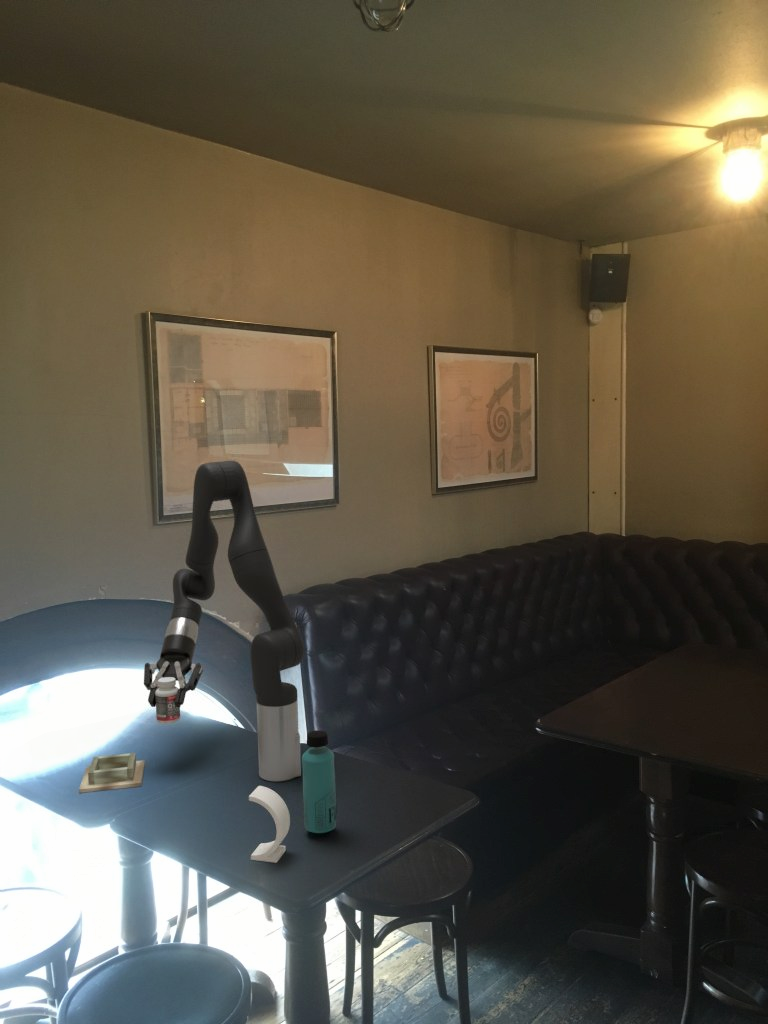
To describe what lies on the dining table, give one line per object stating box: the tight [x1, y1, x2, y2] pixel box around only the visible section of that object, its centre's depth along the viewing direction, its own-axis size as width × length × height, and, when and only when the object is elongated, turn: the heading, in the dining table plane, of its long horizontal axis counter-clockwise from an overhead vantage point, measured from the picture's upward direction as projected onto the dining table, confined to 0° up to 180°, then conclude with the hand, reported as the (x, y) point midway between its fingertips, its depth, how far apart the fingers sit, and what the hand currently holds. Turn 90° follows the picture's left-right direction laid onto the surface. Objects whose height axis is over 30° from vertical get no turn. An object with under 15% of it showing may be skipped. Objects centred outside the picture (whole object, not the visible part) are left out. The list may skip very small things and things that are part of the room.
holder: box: [78, 752, 146, 794], centre depth 184 cm, size 13×13×4 cm
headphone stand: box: [248, 785, 291, 864], centre depth 148 cm, size 5×6×12 cm
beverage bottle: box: [301, 730, 338, 834], centre depth 156 cm, size 6×7×20 cm
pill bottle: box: [155, 677, 181, 725], centre depth 187 cm, size 5×5×10 cm
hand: (164, 705), depth 185 cm, fingers closed on pill bottle, 5 cm apart
